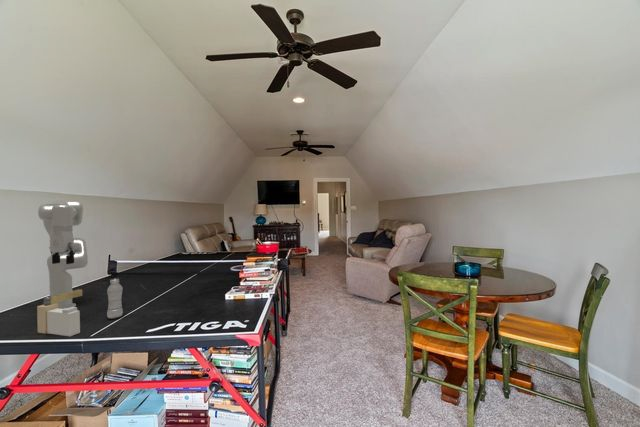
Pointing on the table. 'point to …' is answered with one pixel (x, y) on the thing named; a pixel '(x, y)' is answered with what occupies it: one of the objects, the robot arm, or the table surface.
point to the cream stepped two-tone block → (58, 320)
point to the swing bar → (62, 297)
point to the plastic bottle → (114, 299)
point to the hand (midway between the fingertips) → (63, 263)
